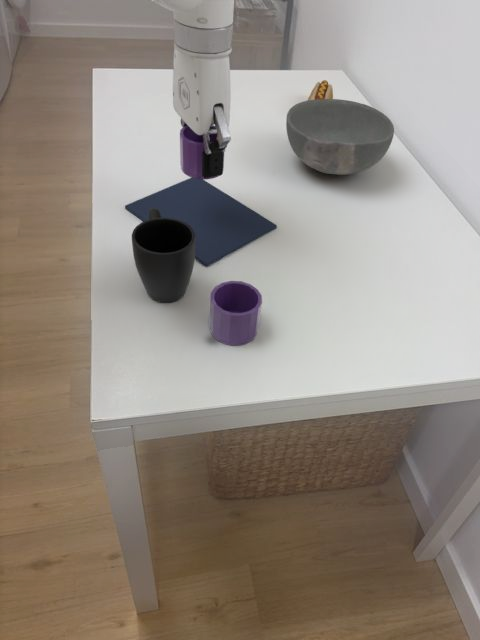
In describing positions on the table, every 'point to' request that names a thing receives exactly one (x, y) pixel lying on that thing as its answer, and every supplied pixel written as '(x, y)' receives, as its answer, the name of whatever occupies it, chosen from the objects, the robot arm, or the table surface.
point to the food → (321, 91)
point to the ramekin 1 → (193, 152)
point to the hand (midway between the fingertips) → (202, 162)
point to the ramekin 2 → (235, 312)
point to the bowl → (338, 135)
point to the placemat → (206, 217)
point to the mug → (164, 256)
